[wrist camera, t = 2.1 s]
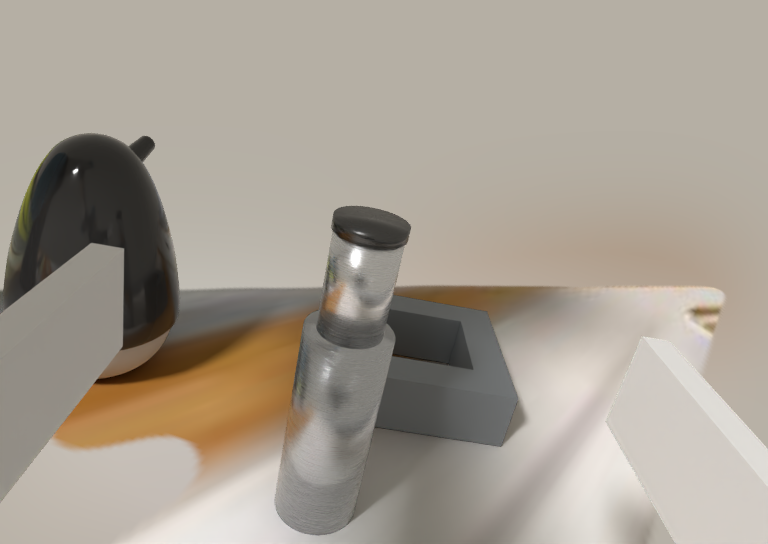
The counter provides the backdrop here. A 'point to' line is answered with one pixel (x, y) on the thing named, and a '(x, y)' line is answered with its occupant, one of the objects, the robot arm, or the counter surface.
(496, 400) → the socket block
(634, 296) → the counter surface
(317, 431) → the tube
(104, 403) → the counter surface
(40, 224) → the dark grey egg shape
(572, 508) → the counter surface
